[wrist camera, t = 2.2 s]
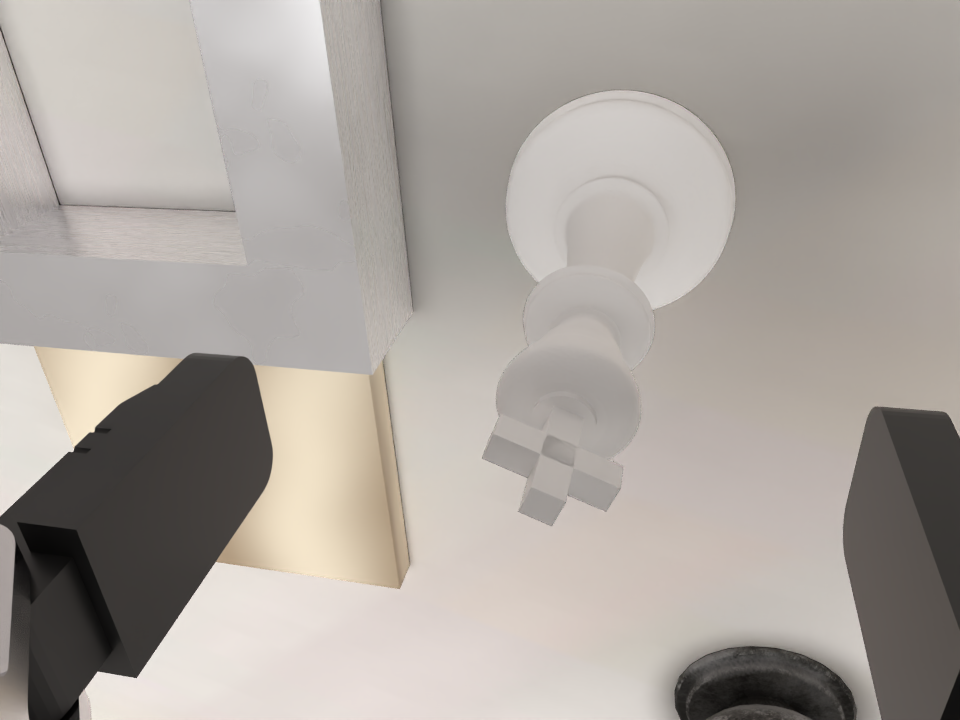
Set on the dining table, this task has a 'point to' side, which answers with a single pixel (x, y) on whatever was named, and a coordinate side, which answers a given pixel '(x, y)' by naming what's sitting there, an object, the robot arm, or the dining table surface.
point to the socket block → (231, 235)
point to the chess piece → (600, 280)
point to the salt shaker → (761, 688)
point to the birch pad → (281, 462)
